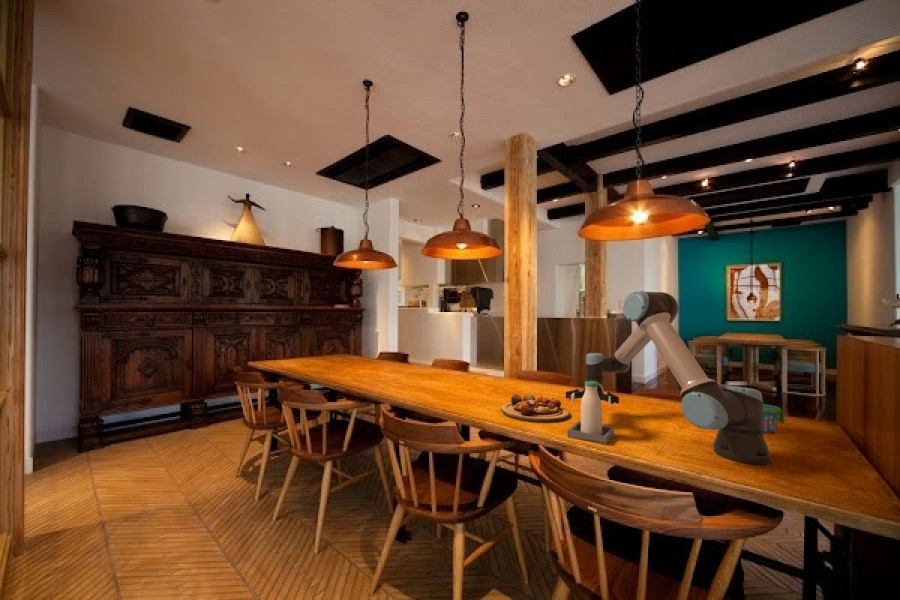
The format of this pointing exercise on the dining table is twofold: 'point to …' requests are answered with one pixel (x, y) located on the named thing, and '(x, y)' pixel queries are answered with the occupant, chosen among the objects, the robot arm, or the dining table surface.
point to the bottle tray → (603, 439)
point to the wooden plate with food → (535, 409)
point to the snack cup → (771, 418)
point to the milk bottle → (591, 410)
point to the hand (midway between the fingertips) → (590, 401)
